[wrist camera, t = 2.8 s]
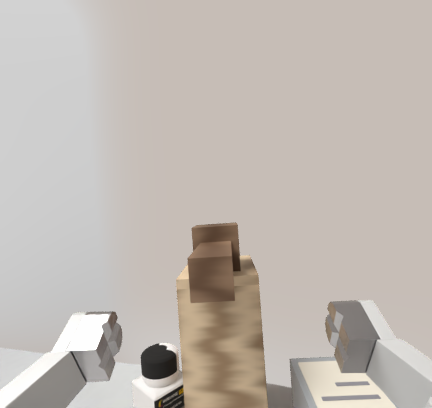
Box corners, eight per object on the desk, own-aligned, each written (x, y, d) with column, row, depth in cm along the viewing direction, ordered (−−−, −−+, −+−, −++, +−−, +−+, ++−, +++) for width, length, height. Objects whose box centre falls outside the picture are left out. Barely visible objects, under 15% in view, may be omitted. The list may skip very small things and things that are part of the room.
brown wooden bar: (239, 262, 43) (236, 222, 43) (246, 300, 25) (241, 232, 25) (199, 264, 43) (196, 225, 43) (179, 303, 25) (175, 237, 25)
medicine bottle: (157, 448, 41) (152, 365, 41) (133, 424, 46) (128, 350, 46) (194, 420, 46) (189, 346, 46) (169, 401, 51) (165, 334, 51)
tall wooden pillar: (260, 409, 48) (249, 255, 48) (274, 493, 34) (258, 274, 34) (201, 411, 48) (191, 258, 48) (190, 495, 34) (176, 279, 34)
